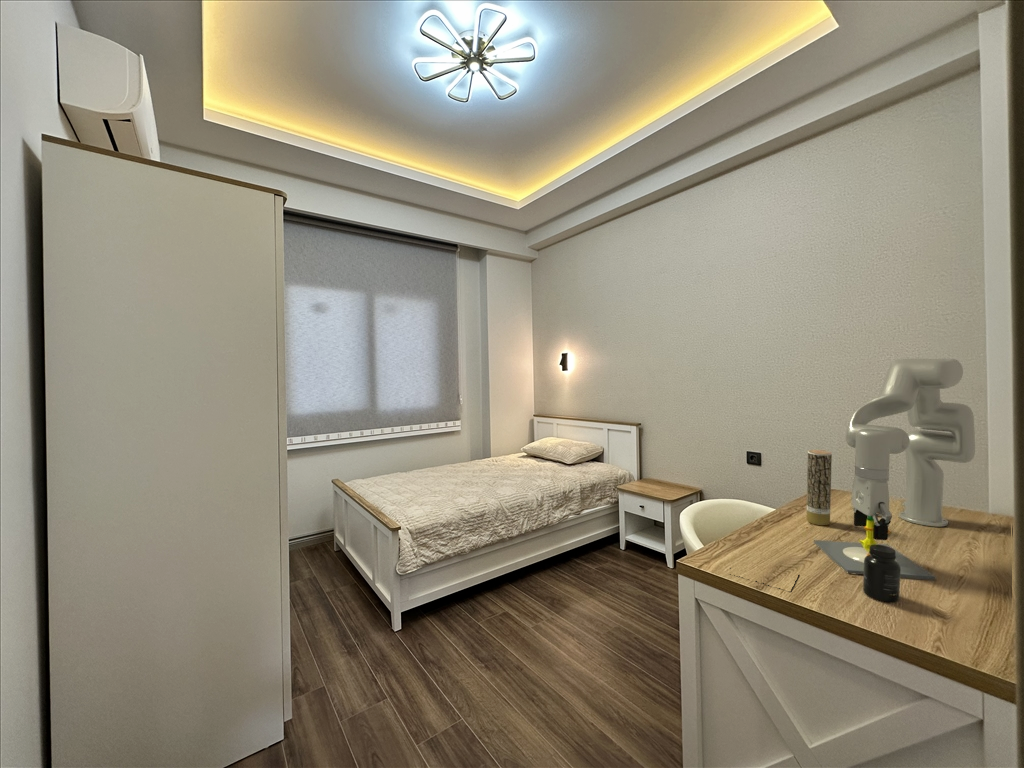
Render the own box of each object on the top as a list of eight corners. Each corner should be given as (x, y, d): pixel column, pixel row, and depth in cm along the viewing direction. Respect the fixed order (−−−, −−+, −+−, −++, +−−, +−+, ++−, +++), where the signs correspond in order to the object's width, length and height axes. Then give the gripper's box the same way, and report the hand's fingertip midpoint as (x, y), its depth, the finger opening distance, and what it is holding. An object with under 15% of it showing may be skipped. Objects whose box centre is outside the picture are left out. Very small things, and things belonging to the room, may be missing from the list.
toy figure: (887, 557, 125) (890, 516, 124) (888, 562, 122) (891, 521, 121) (856, 551, 129) (859, 511, 128) (857, 556, 126) (860, 515, 125)
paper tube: (833, 526, 151) (835, 454, 150) (811, 525, 152) (813, 453, 151) (824, 519, 158) (825, 450, 156) (802, 518, 159) (804, 449, 158)
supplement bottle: (855, 589, 111) (857, 543, 110) (880, 588, 111) (882, 541, 111) (880, 605, 104) (882, 555, 103) (907, 603, 105) (909, 553, 104)
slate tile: (813, 543, 138) (813, 539, 138) (887, 547, 134) (887, 543, 134) (847, 573, 119) (847, 569, 119) (935, 580, 115) (935, 575, 115)
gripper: (840, 465, 134) (839, 520, 135) (874, 481, 117) (872, 544, 119) (869, 466, 133) (867, 522, 134) (907, 482, 116) (905, 546, 117)
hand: (869, 532), depth 126 cm, fingers open, 9 cm apart
